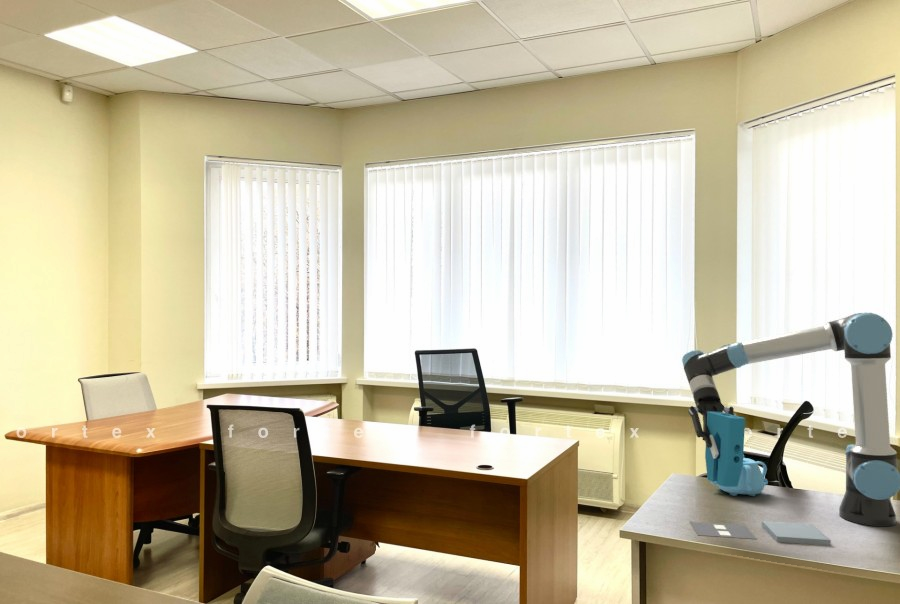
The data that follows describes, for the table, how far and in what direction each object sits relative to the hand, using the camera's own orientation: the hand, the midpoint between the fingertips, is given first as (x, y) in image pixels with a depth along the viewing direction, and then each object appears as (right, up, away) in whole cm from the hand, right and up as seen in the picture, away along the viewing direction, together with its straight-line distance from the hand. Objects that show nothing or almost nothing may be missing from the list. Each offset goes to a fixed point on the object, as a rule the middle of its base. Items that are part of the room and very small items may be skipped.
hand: (726, 456), depth 194 cm
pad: (+19, -22, -2) cm, 30 cm away
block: (-1, -8, +2) cm, 9 cm away
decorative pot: (+23, -23, +43) cm, 54 cm away
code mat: (-1, -22, +1) cm, 22 cm away
